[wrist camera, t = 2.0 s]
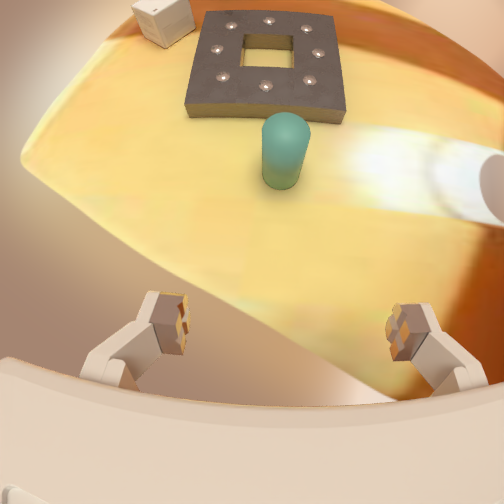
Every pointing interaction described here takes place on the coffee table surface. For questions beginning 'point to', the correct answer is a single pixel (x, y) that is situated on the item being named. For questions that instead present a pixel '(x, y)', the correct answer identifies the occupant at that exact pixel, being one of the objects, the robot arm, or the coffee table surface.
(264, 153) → the teal cylinder
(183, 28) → the product box
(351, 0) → the coffee table surface
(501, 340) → the coffee table surface
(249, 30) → the rosette socket
